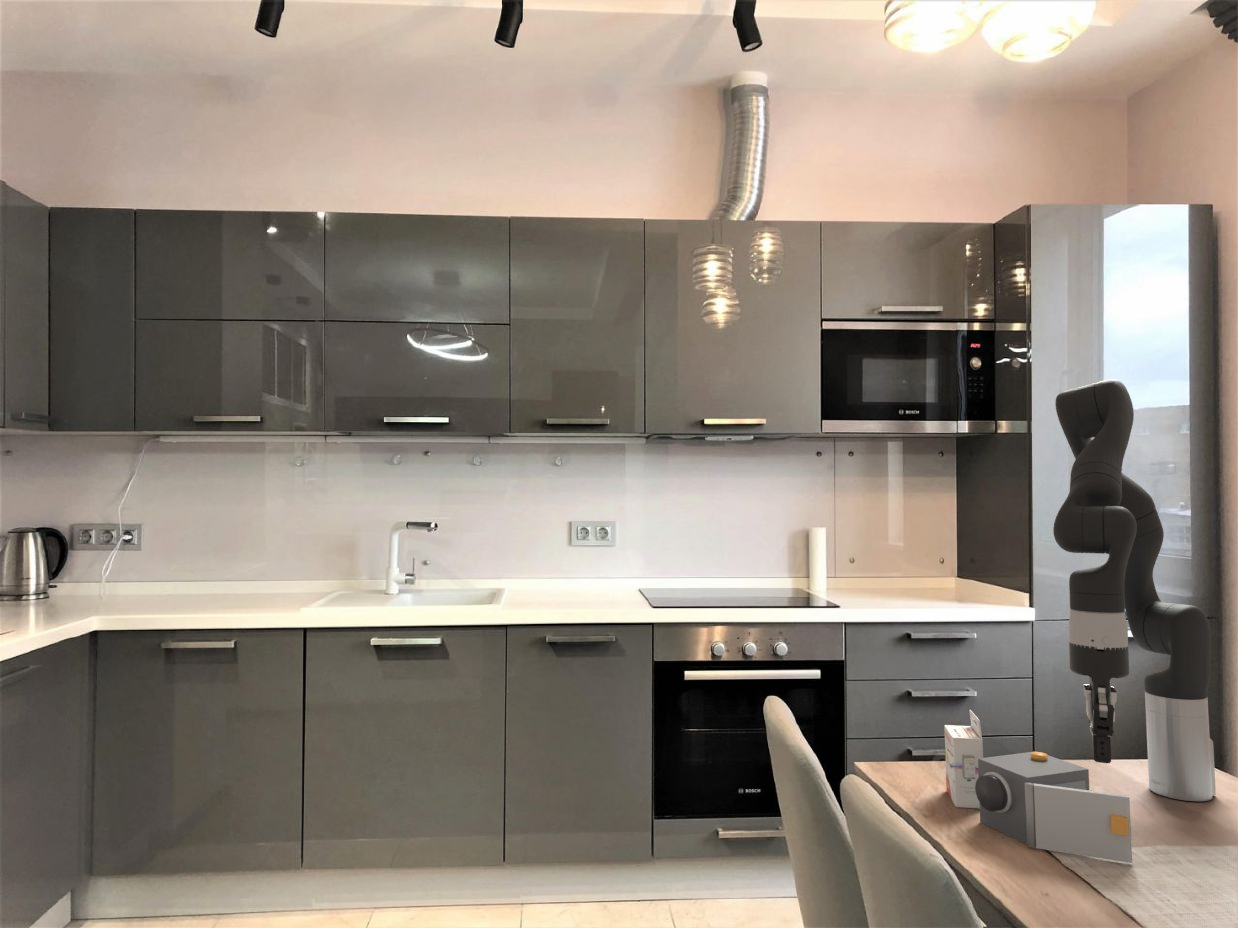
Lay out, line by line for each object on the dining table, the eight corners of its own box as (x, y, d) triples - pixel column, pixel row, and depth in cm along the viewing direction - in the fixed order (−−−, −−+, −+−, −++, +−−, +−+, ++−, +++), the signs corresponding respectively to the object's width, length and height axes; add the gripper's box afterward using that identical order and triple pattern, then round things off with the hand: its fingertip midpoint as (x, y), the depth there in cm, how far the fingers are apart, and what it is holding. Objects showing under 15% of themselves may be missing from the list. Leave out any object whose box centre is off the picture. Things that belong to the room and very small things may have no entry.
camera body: (1038, 812, 133) (1036, 746, 134) (1092, 835, 124) (1089, 764, 124) (970, 823, 129) (967, 754, 129) (1020, 848, 119) (1017, 773, 120)
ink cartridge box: (944, 790, 144) (942, 707, 145) (974, 792, 143) (971, 708, 144) (954, 807, 136) (952, 718, 137) (986, 809, 135) (983, 720, 136)
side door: (1131, 860, 114) (1128, 795, 115) (1132, 864, 112) (1129, 798, 113) (1026, 843, 120) (1024, 781, 120) (1027, 847, 118) (1024, 785, 119)
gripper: (1067, 633, 126) (1070, 746, 125) (1071, 645, 115) (1074, 770, 113) (1123, 637, 123) (1127, 753, 122) (1133, 649, 111) (1137, 778, 110)
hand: (1102, 761), depth 118 cm, fingers closed
